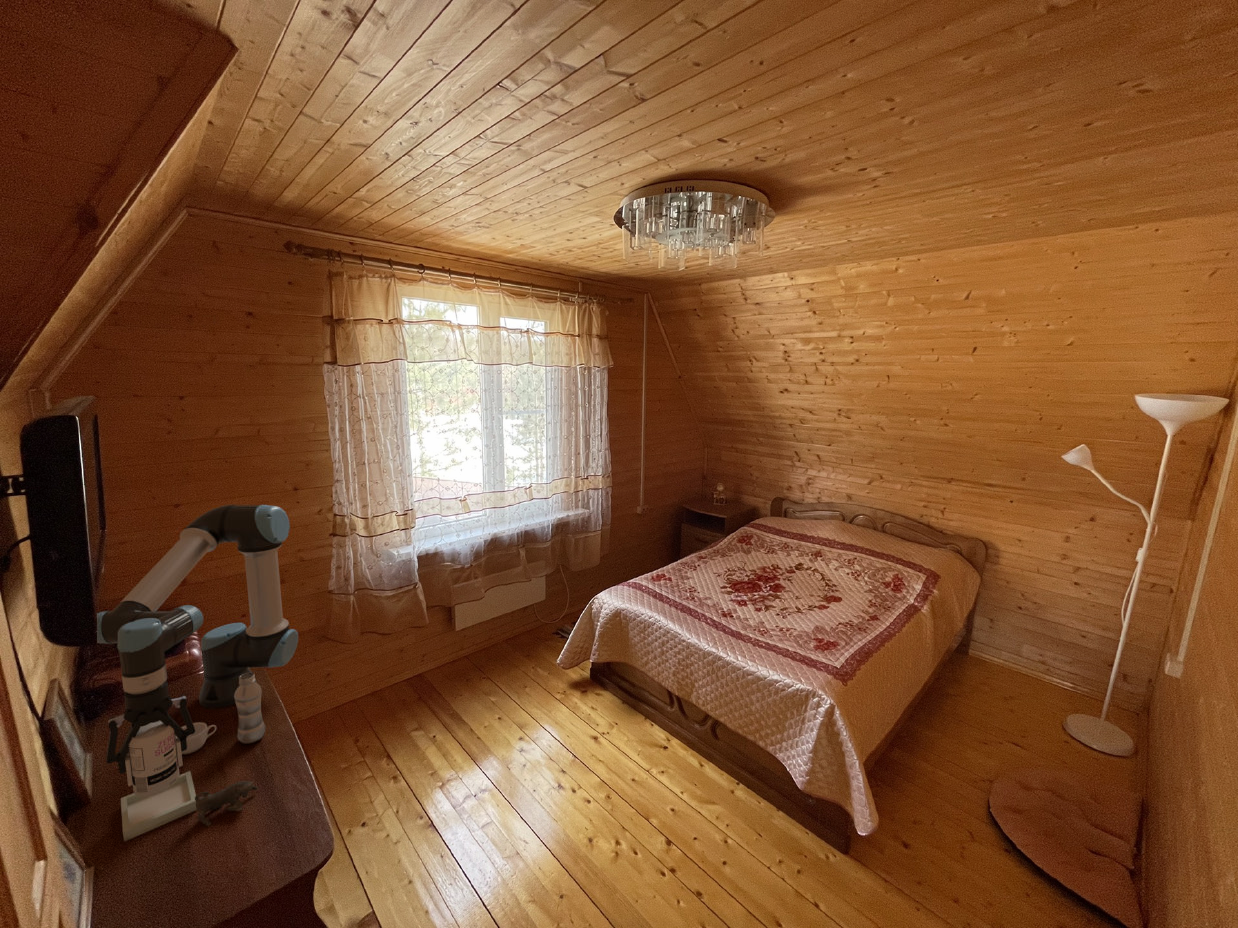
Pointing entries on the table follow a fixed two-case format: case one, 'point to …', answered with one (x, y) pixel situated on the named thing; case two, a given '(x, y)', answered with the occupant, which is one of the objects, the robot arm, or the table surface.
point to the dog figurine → (223, 799)
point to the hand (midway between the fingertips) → (155, 772)
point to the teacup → (197, 737)
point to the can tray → (157, 807)
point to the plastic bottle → (249, 709)
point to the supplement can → (153, 759)
